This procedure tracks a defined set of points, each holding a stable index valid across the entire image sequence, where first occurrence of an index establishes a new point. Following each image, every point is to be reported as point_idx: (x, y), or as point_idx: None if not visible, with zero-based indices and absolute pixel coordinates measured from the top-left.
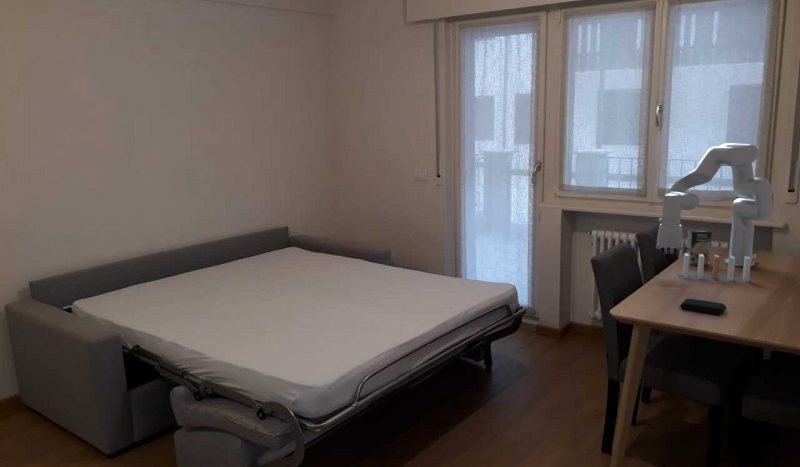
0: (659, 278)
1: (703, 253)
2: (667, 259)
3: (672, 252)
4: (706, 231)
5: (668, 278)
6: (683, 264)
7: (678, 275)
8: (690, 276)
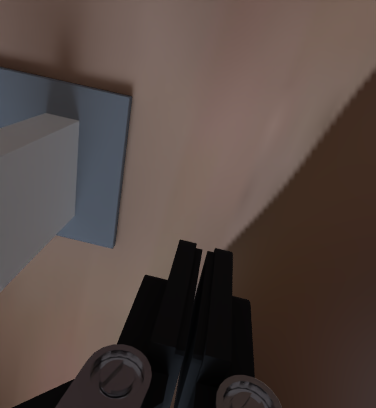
0: (313, 119)
1: None
2: (219, 275)
3: (97, 386)
4: None
5: (222, 122)
6: (18, 261)
7: (111, 196)
8: None
